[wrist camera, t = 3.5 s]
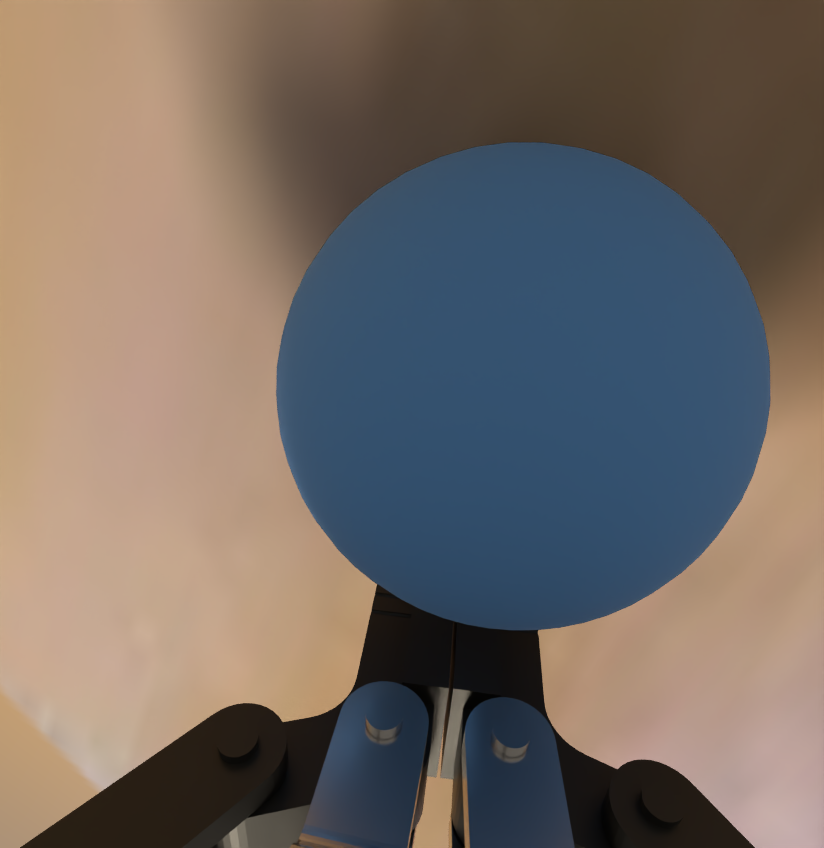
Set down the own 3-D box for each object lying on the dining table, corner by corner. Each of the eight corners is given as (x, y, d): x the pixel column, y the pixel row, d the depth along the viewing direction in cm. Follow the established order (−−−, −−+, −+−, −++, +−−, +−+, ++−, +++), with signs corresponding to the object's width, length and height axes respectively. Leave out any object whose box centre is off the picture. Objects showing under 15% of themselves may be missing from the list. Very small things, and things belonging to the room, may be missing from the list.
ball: (334, 111, 10) (146, 150, 4) (735, 139, 9) (1055, 219, 4) (335, 445, 13) (222, 706, 7) (639, 478, 12) (752, 780, 7)
